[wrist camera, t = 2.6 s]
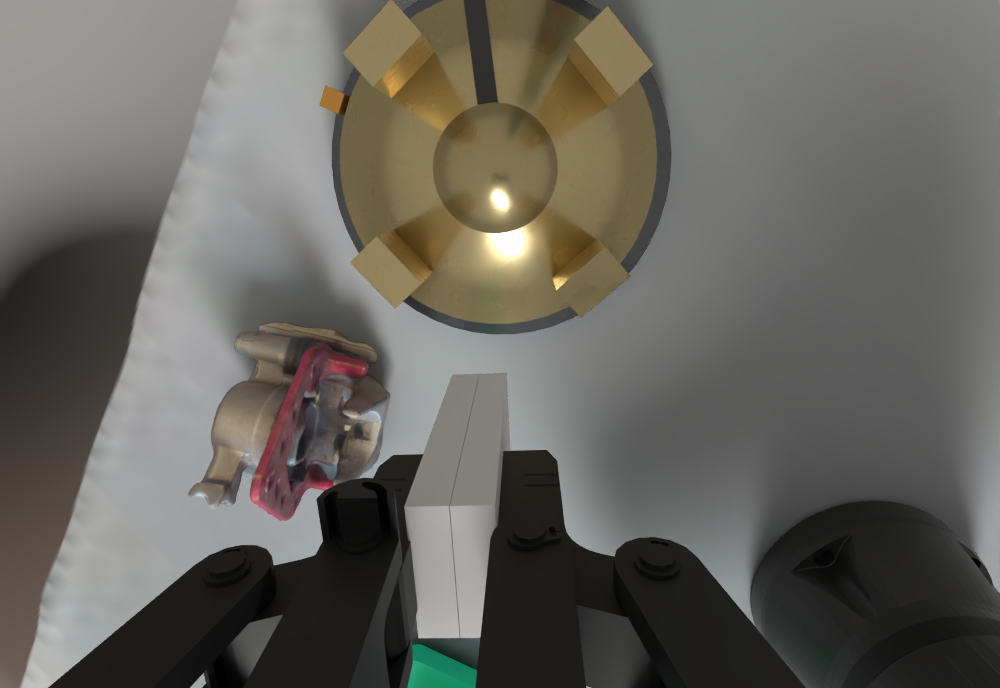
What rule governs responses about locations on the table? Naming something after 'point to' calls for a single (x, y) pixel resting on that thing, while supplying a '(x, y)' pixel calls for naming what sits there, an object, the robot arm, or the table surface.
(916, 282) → the table surface
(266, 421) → the brake caliper
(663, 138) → the index base
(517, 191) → the brass finned hub
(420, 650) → the camera mount
